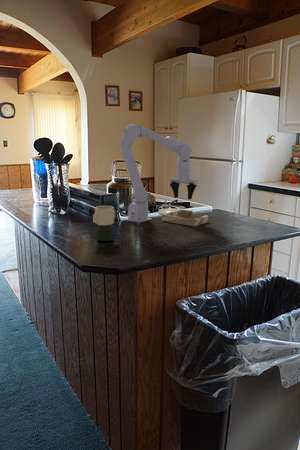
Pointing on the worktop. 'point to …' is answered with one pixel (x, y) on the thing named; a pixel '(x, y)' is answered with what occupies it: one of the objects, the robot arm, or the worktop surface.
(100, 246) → the worktop surface
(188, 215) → the walnut block
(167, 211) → the ceramic plate
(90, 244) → the worktop surface
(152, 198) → the lion figurine
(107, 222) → the character mug
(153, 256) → the worktop surface
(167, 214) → the wooden u-shaped frame
